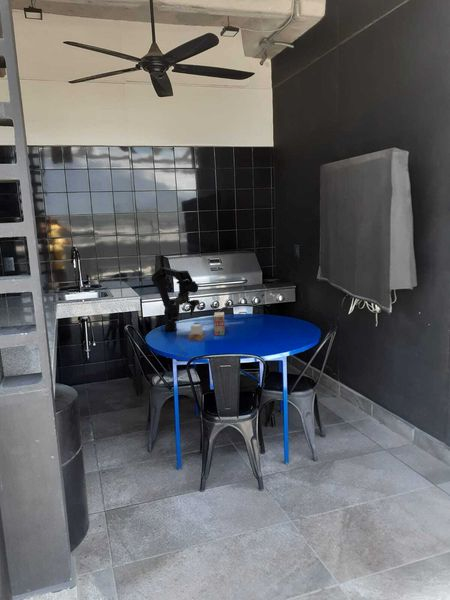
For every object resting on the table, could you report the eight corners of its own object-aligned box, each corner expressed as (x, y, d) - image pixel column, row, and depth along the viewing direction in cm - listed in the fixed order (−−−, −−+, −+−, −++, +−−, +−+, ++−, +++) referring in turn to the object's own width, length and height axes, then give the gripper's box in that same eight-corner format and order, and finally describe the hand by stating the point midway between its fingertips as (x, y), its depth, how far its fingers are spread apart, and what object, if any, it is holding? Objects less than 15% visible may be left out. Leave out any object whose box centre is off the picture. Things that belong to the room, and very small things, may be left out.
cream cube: (191, 333, 274) (190, 325, 273) (195, 331, 278) (194, 323, 277) (198, 334, 271) (197, 326, 270) (202, 332, 276) (202, 324, 275)
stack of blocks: (215, 327, 304) (214, 309, 301) (224, 327, 304) (224, 309, 301) (214, 335, 283) (213, 316, 280) (224, 335, 282) (223, 316, 280)
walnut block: (188, 341, 273) (188, 334, 272) (192, 337, 280) (192, 331, 280) (201, 341, 271) (201, 334, 270) (204, 337, 279) (204, 331, 278)
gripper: (164, 292, 279) (165, 317, 282) (191, 293, 272) (192, 319, 274) (173, 289, 289) (174, 313, 292) (199, 290, 282) (200, 315, 284)
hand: (184, 315), depth 285 cm, fingers open, 9 cm apart
